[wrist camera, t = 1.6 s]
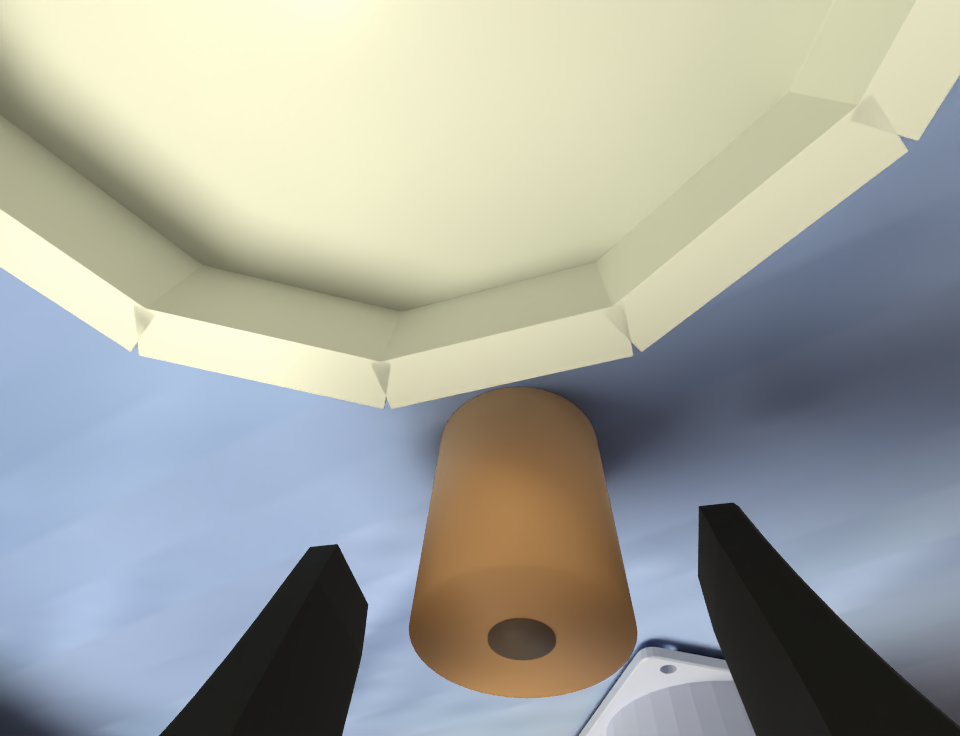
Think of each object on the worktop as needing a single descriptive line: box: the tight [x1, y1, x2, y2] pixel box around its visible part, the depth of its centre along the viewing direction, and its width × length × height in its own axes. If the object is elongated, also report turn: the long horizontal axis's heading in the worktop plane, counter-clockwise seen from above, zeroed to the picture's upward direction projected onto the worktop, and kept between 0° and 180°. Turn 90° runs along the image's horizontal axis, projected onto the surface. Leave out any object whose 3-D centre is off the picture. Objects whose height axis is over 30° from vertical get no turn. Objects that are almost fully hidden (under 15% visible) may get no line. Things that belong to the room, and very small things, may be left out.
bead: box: [409, 387, 637, 698], centre depth 12 cm, size 4×4×5 cm
